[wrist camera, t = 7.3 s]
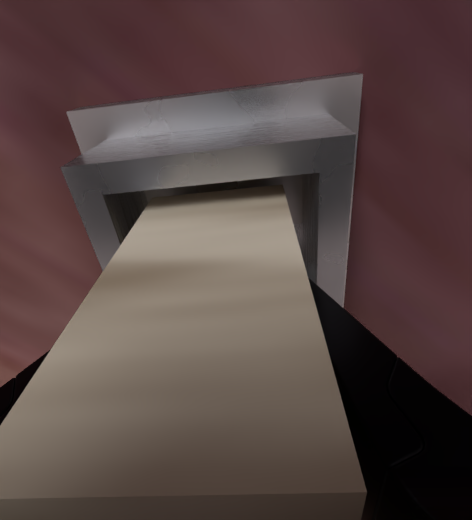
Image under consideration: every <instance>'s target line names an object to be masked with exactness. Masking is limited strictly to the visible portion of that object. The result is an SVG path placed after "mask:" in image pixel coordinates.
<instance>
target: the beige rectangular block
mask: <svg viewBox="0 0 472 520" xmlns="http://www.w3.org/2000/svg"><path fill="white" fill-rule="evenodd" d="M366 495H367V490H366V486H365V483H364V479H363V476H362V472H361V468H360V465H359V461H358V457H357V454H356V450H355V446H354V443H353V439H352V435H351V432H350V428H349V425H348V421H347V417H346V414H345V410H344V406H343V403H342V399H341V395H340V392H339V388H338V385H337V381H336V377H335V374H334V370H333V366H332V363H331V359H330V355H329V352H328V348H327V344H326V341H325V337H324V334H323V330H322V326H321V323H320V319H319V315H318V312H317V308H316V304H315V301H314V297H313V294H312V290H311V286H310V283H309V279H308V275H307V272H306V268H305V264H304V261H303V257H302V254H301V250H300V246H299V243H298V239H297V235H296V232H295V228H294V224H293V221H292V217H291V213H290V210H289V206H288V203H287V199H286V195H285V192H284V188H283V185H273V186H263V187H253V188H243V189H233V190H223V191H214V192H204V193H194V194H184V195H174V196H164V197H154V198H152V199H151V200H150V202H149V203H148V205H147V206H146V208H145V209H144V211H143V212H142V214H141V215H140V217H139V218H138V220H137V221H136V223H135V224H134V226H133V227H132V229H131V230H130V232H129V233H128V235H127V236H126V238H125V239H124V241H123V242H122V244H121V245H120V247H119V248H118V250H117V251H116V253H115V254H114V256H113V257H112V259H111V260H110V262H109V263H108V265H107V266H106V268H105V269H104V271H103V272H102V274H101V275H100V277H99V278H98V280H97V281H96V283H95V284H94V286H93V287H92V289H91V290H90V292H89V293H88V295H87V296H86V298H85V299H84V301H83V302H82V304H81V305H80V307H79V308H78V310H77V311H76V313H75V314H74V316H73V317H72V319H71V320H70V322H69V323H68V325H67V326H66V328H65V329H64V331H63V332H62V334H61V335H60V337H59V338H58V340H57V341H56V343H55V344H54V346H53V347H52V349H51V350H50V352H49V353H48V355H47V356H46V358H45V359H44V361H43V362H42V364H41V365H40V367H39V368H38V370H37V371H36V373H35V374H34V376H33V377H32V379H31V380H30V382H29V383H28V385H27V386H26V388H25V389H24V391H23V392H22V394H21V395H20V397H19V398H18V400H17V401H16V403H15V404H14V406H13V407H12V409H11V410H10V412H9V413H8V415H7V416H6V418H5V419H4V421H3V422H2V424H1V425H0V520H361V517H362V513H363V508H364V504H365V499H366Z"/></svg>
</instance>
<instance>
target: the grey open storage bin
mask: <svg viewBox="0 0 472 520" xmlns="http://www.w3.org/2000/svg"><path fill="white" fill-rule="evenodd" d="M362 80H363V74H360V73H354V72H352V73H345V74H337V75H329V76H321V77H313V78H306V79H298V80H290V81H282V82H275V83H267V84H259V85H251V86H243V87H236V88H228V89H220V90H212V91H204V92H197V93H189V94H181V95H173V96H166V97H158V98H150V99H142V100H134V101H127V102H119V103H111V104H103V105H95V106H88V107H80V108H77V109H74V110H71V111H68V112H67V115H68V118H69V121H70V123H71V126H72V129H73V132H74V134H75V137H76V140H77V142H78V145H79V148H80V151H81V153H82V155H80V156H78V157H77V158H75V159H74V160H72V161H70V162H69V163H67V164H65V165H64V166H62V167H61V170H62V172H63V175H64V177H65V180H66V182H67V185H68V187H69V190H70V192H71V194H72V197H73V199H74V202H75V204H76V207H77V209H78V212H79V214H80V216H81V219H82V221H83V224H84V226H85V229H86V231H87V234H88V236H89V238H90V241H91V243H92V246H93V248H94V251H95V253H96V256H97V258H98V260H99V263H100V265H101V268H102V270H103V271H104V269H105V268H106V266H107V265H108V263H109V262H110V260H111V259H112V257H113V256H114V254H115V253H116V251H117V250H118V248H119V247H120V245H121V244H122V242H123V241H124V239H125V238H126V236H127V235H128V233H129V232H130V230H131V229H132V227H133V226H134V224H135V223H136V221H137V220H138V218H139V217H140V215H141V214H142V212H143V211H144V209H145V208H146V206H147V205H148V203H149V202H150V200H151V199H152V198H154V197H164V196H174V195H184V194H194V193H204V192H214V191H223V190H233V189H243V188H253V187H263V186H273V185H283V188H284V192H285V195H286V199H287V203H288V206H289V210H290V213H291V217H292V221H293V224H294V228H295V232H296V235H297V239H298V243H299V246H300V250H301V254H302V257H303V261H304V264H305V268H306V272H307V275H308V277H309V278H310V279H311V280H312V281H313V282H314V283H316V284H317V285H318V286H319V287H320V288H321V289H322V290H323V291H325V292H326V293H327V294H328V295H329V296H330V297H331V298H333V299H334V300H335V301H336V302H337V303H338V304H339V305H340V306H342V307H343V308H344V296H345V284H346V272H347V260H348V248H349V236H350V224H351V212H352V200H353V188H354V176H355V164H356V152H357V140H358V128H359V116H360V104H361V92H362Z"/></svg>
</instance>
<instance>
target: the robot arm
mask: <svg viewBox="0 0 472 520" xmlns="http://www.w3.org/2000/svg"><path fill="white" fill-rule="evenodd" d="M308 279H309V283H310V286H311V290H312V294H313V297H314V301H315V304H316V308H317V312H318V315H319V319H320V323H321V326H322V330H323V334H324V337H325V341H326V344H327V348H328V352H329V355H330V359H331V363H332V366H333V370H334V374H335V377H336V381H337V385H338V388H339V392H340V395H341V399H342V403H343V406H344V410H345V414H346V417H347V421H348V425H349V428H350V432H351V435H352V439H353V443H354V446H355V450H356V454H357V457H358V461H359V465H360V468H361V472H362V476H363V479H364V483H365V486H366V490H367V495H366V499H365V504H364V508H363V513H362V517H361V520H472V416H471V415H470V414H468V413H467V412H466V411H464V410H463V409H462V408H460V407H459V406H458V405H456V404H455V403H454V402H453V401H451V400H450V399H449V398H447V397H446V396H445V395H443V394H442V393H441V392H440V391H438V390H437V389H436V388H434V387H433V386H432V385H431V384H430V383H428V382H427V381H426V380H425V379H424V378H423V377H421V376H420V375H419V374H418V373H417V372H415V371H414V370H413V369H412V368H411V367H410V366H408V365H407V364H406V363H405V362H404V361H403V360H402V359H401V358H397V355H396V354H395V353H394V352H392V351H391V350H390V349H389V348H388V347H387V346H386V345H385V344H383V343H382V342H381V341H380V340H379V339H378V338H377V337H375V336H374V335H373V334H372V333H371V332H370V331H369V330H368V329H366V328H365V327H364V326H363V325H362V324H361V323H360V322H359V321H357V320H356V319H355V318H354V317H353V316H352V315H351V314H349V313H348V312H347V311H346V310H345V309H344V308H343V307H342V306H340V305H339V304H338V303H337V302H336V301H335V300H334V299H333V298H331V297H330V296H329V295H328V294H327V293H326V292H325V291H323V290H322V289H321V288H320V287H319V286H318V285H317V284H316V283H314V282H313V281H312V280H311V279H310V278H309V277H308ZM49 352H50V350H49V351H48V352H47V353H45V354H44V355H43V356H41V357H40V358H39V359H37V360H36V361H35V362H34V363H32V364H31V365H30V366H28V367H27V368H26V369H24V370H23V371H22V372H20V373H19V374H18V375H17V376H16V378H12V379H11V380H10V381H8V382H7V383H6V384H4V385H3V386H2V387H0V425H1V424H2V422H3V421H4V419H5V418H6V416H7V415H8V413H9V412H10V410H11V409H12V407H13V406H14V404H15V403H16V401H17V400H18V398H19V397H20V395H21V394H22V392H23V391H24V389H25V388H26V386H27V385H28V383H29V382H30V380H31V379H32V377H33V376H34V374H35V373H36V371H37V370H38V368H39V367H40V365H41V364H42V362H43V361H44V359H45V358H46V356H47V355H48V353H49Z"/></svg>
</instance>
